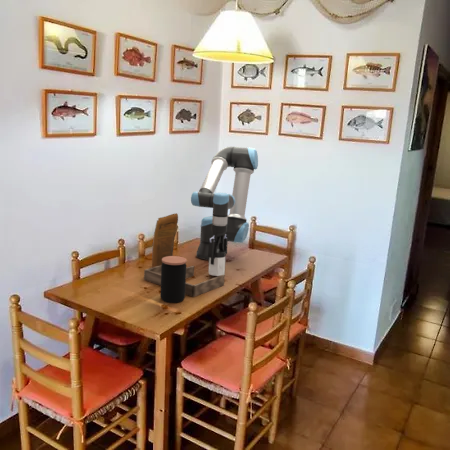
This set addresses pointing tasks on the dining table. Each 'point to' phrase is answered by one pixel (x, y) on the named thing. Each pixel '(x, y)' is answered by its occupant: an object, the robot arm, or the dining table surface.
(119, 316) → the dining table surface
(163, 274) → the coffee jar
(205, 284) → the lane organizer
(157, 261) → the pancake mix bag
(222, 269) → the jar
